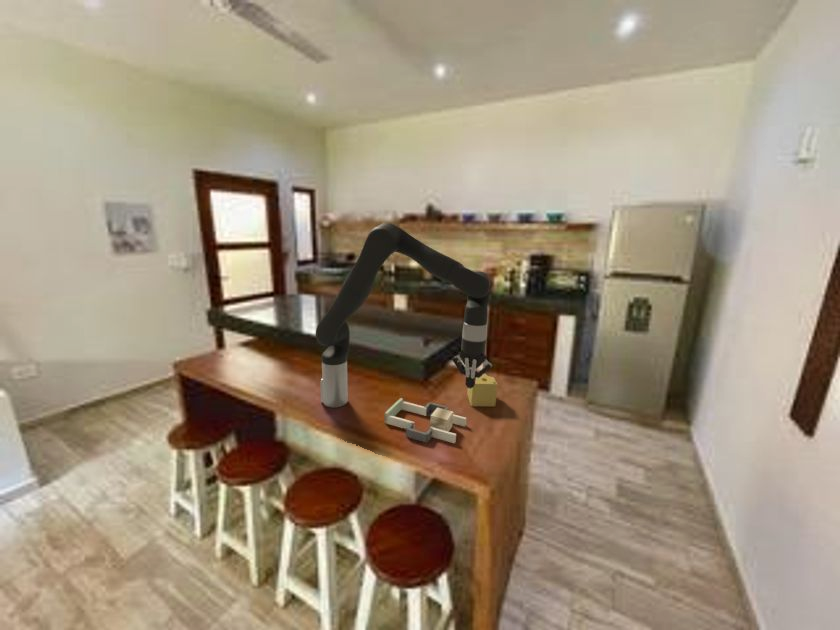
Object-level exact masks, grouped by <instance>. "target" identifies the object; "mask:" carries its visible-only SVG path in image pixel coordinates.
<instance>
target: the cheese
mask: <svg viewBox="0 0 840 630" xmlns="http://www.w3.org/2000/svg"><path fill="white" fill-rule="evenodd" d="M498 386H499V385H498V383H497V381H496V379H495V377H494V376H490V375H488V374H486V373H484V374H483V375H482V376H481V377H480V378H477V377H476V380H475V385H474V387H472V389H471V388H467V387H466V391H467V398H468V401H469V404H470V407H491V408H492V407H496V403H497V395H498Z"/></svg>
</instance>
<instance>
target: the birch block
mask: <svg viewBox="0 0 840 630" xmlns="http://www.w3.org/2000/svg"><path fill="white" fill-rule="evenodd" d="M453 414H454V411H452V410H449V409H448V410H445V409H441V408H436V410H435V411H434V412H433V413H432V415H431V416H430V423H429V428H430V427H434V428H437V429H441V430H444V431H448V432H450V430H451V429H452V427H453Z"/></svg>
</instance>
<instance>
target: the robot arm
mask: <svg viewBox="0 0 840 630" xmlns="http://www.w3.org/2000/svg"><path fill="white" fill-rule="evenodd" d="M393 253H398V254H400V255H401V254H402V255H404V256H406V257H408V258H410V259H412V260H413V261H414V262H416V263H417V264H418V265H419V266H420V267H422V268H423V269H424V270H425V271H426V272H428V274H430V275H432V276H434V277H435V278H437V279H439V280H441V281H443V282H446V283H448V284H450V285H453V286H454V287H455V288H457V289H458V290H459V291H461V292H462V293H464V294H466V304H465V308H464V317H463V326H462V334H461V346H460V347H461V348H460V352H459V355H455V356H454V357H453V358H452V362H453V364H454V365H455V367H456V369H457V370H458V371H459V373H460V374H461V375H463V376H465V386H466V389H467V388H471V389H472V387H474V385H475V380H476V377H477V378H480V377H481V376H482V375H483V374H486V373H487V372H488V371H489V370H490V369H491V368H492V366H493V362H490V361H488V359H487V355H486V348H487V347H486V346H487V338H488V326H487V324H488V314H489V311H488V310H489V309H488V308H489V307H488V304H489V299H490V291H491V286H492V285H491V279H490V276H489V275H488V274H487V273H485V272H483V271H473V270H471V269H469V268H468V267H465V266H464V264H462V262H459V261H458V260H456V259H453V258H452V257H449V256H447V255H445V254H444V253H442V252H439V251H437V250H435V249H434V248H432V247H430V246H428V245H426V244H424V243H423V242H422V241H420V240H418V239H417V238H415V237H414V236H413V235H411V234H409V233H408V232H406V231H405V230H404V229H403V228H401V227H400V226H398V225H396V224H395V223H391V222H384V223H381V224H380V225H377V226H375V227H374V228H372V229H371V230H370V231H369V233H368V234H367V237H366V239H365V241H364V244H363V247H362V249H361V252H360V254H359V256H358V259H357V260H356V262H355V263H354V265H353V266H352V268H351V269H350V271H349V273H348V274H347V276H346V278H345V280H344V281H343V283H342V285H341V286H340V289H339V291H338V293H337V294H336V296H335V298H334V300H333V302H332V304H331V305H330V307H329V309H328V310H327V312H326V313H324V315H323V317H322V319H321V320H320V321H319V323H318V324H317V326H316V329H315V339H316V341H317V343H318V344H319V345H321V346H323V347H327V348H326V349H325V350H324V351H323V352H322V354H321V372H322V373H321V376H322V377H321V379H320V381H319V382H320V383H319V384H320V386H319V387H320V403H323V405H324V406H325V407H327V408H340V407H343V406H345V405H346V404H347V403H348V399H349V398H348V397H349V396H348V392H349V391H348V356H349V352H350V339H351V338H350V337H351V336H350V335H351V334H350V327H349V324H348V322H347V320H348V319H349V318H350V317H351V316H352V315H354V314H355V313H356V312H357V311H358V310H360V308H361V307H363V305H364V304H365V303H366V301H367V299H368V297H369V295H370V294H371V293H372V291H373V288H374V285H375V280H376V277H377V274H378V272H379V270H380V269H381V268H382V266H383V264H384V263H385V262H386V260H388V258H389V257H390V256H391V255H393ZM481 366H482V369H481V370H479V371H478V369H479V367H481Z"/></svg>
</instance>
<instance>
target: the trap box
mask: <svg viewBox="0 0 840 630" xmlns="http://www.w3.org/2000/svg"><path fill="white" fill-rule="evenodd" d="M436 408H441V409H445V410H449V407H448V406H446V405H442V404H437V403H435V402H434V403H433V402H427V403H426V404H425V406H424V405H419V404H416V403H412V402H409V401H404V398H402V397H399V399H398V400H397V401H396V402H395V403H393V404H392V405H391V407H389V408H388V409H387V410H386V411H385V412H384V424H387V425H391V426H394V427H398V428H401V429H403V428H404V429H403V430H405V437H406V438H408V437H409V438H408V439H411V438H412V440H416V441H418V440H419V442H421V441H422V443H424V442H425V444H427V443H429V441H430V440H432V438H434V439H437V440H441V441H444V442H448V443H452V444H455V443H456V442H457V441H456V440H457V433H454V432H450V431H449V432H448V431H444V430H441V429H437V428H434V427H430V426H429V429H428V430H427V431H426V432H424V431H421V430H417V429H416V428H415V421H411V420H409V419H406V418H405V419H404V418H402V417H398V416H397V414H399V412H400V411H405V412H410V413H414V414H417V415H421V416H425V417H426V416H428V417H431V415H432V413H433V412H434V411H435V410H436ZM453 424H454V425H457V426H461V427H464V428H465V427H466V425H467V417H464V416H461V415H457V414H454V413H453V423H452V425H453ZM431 437H432V438H431Z"/></svg>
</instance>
